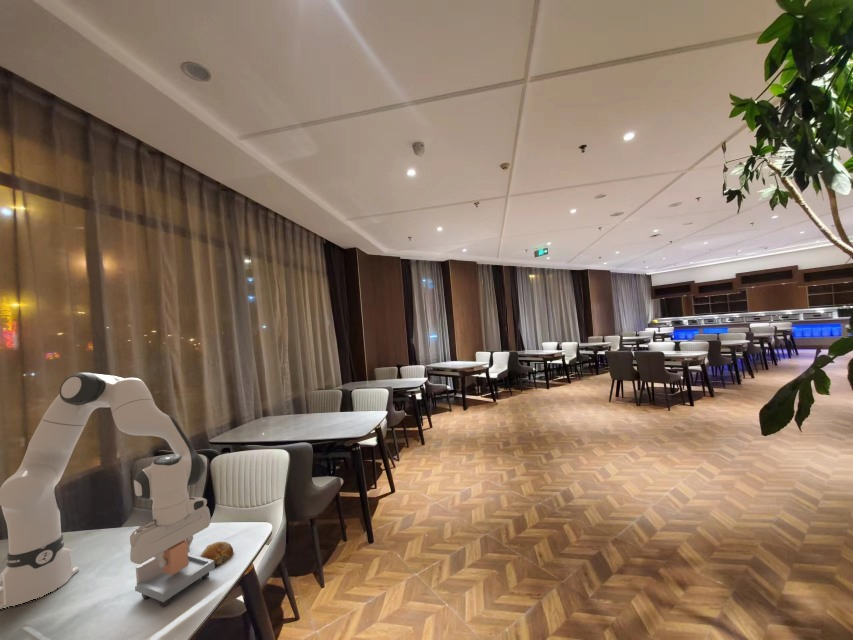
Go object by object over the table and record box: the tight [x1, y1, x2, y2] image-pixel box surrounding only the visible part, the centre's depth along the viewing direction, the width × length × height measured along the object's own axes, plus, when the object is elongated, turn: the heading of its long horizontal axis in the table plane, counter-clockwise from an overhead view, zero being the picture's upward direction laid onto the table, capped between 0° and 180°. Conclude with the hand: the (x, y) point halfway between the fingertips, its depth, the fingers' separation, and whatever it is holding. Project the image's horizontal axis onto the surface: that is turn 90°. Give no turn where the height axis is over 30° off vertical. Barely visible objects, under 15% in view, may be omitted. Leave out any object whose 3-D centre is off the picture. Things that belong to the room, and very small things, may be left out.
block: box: [162, 540, 189, 575], centre depth 102 cm, size 4×4×7 cm
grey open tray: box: [134, 552, 216, 608], centre depth 102 cm, size 14×14×9 cm
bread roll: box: [199, 541, 234, 568], centre depth 114 cm, size 10×10×8 cm
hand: (175, 559), depth 102 cm, fingers closed on block, 4 cm apart
